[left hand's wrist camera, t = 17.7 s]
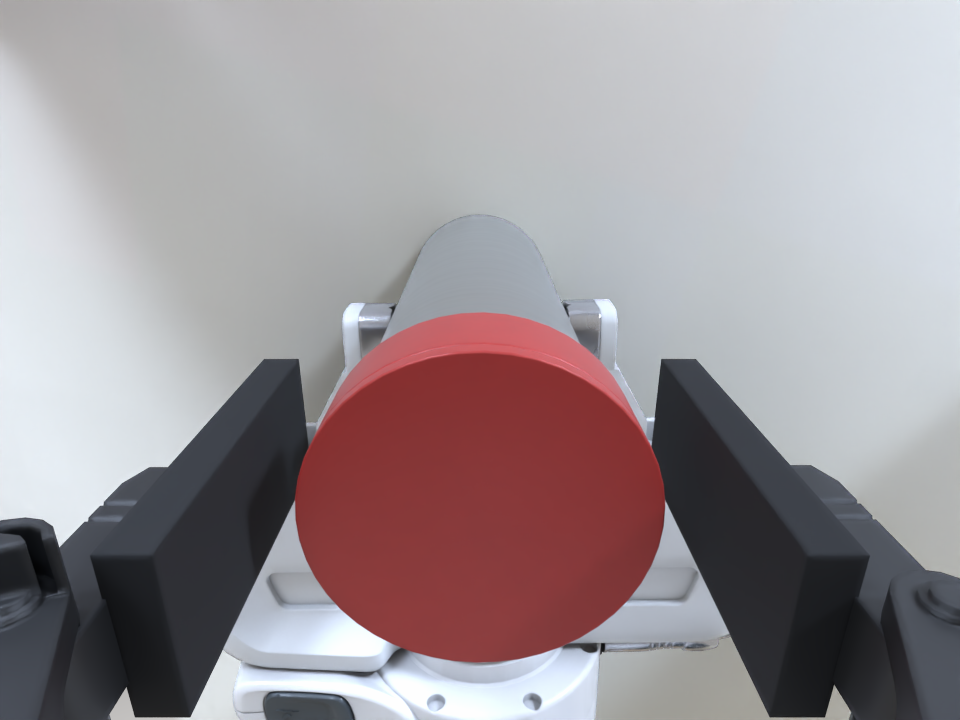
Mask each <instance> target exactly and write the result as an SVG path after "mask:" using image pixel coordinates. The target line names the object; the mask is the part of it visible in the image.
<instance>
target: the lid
mask: <svg viewBox="0 0 960 720" xmlns="http://www.w3.org/2000/svg"><path fill="white" fill-rule="evenodd" d="M664 517H665V495H664V484H663V480H662V476H661V472H660V468H659V464H658V462H657V459H656V457H655V454H654V452H653V450H652V447H651V445H650V443H649V441H648V439H647V437H646V435H645V433H644V431H643V429H642V427H641V426H640V424H639V422H638V420H637V418H636V416H635V414H634V412H633V410H632V408H631V406H630V404H629V403H628V401H627V399H626V397H625V395H624V393H623V391H622V390H621V388H620V387H619V385H618V383H617V382H616V380H615V378H614V377H613V376H612V374H611V373H610V372H609V371H608V370H607V368H606V367H605V366H604V365H603V364H602V362H601V361H600V360H599V359H597V358H596V357H595V356H594V355H593V354H592V353H591V352H590V351H589V350H588V349H586V348H585V347H584V346H582V345H581V344H579V343H578V342H576V341H575V340H574V339H572V338H571V337H569V336H567V335H565V334H563V333H562V332H560V331H558V330H556V329H554V328H552V327H550V326H547V325H544V324H541V323H539V322H536V321H533V320H530V319H526V318H522V317H517V316H512V315H508V314H498V313H486V312H480V313H460V314H454V315H448V316H442V317H438V318H434V319H431V320H428V321H424V322H421V323H418V324H416V325H413V326H411V327H409V328H407V329H404V330H402V331H400V332H398V333H396V334H395V335H393V336H391V337H390V338H388V339H387V340H385V341H383V342H382V343H380V344H379V345H378V346H376V347H375V348H374V349H373V350H372V351H370V352H369V353H368V354H367V355H366V356H364V357H363V358H362V359H361V361H360V362H359V363H358V364H357V365H356V366H355V367H354V368H353V369H352V371H351V372H350V373H349V374H348V376H347V377H346V379H345V380H344V382H343V383H342V385H341V386H340V388H339V389H338V391H337V393H336V395H335V397H334V399H333V401H332V403H331V405H330V407H329V409H328V411H327V413H326V414H325V416H324V418H323V420H322V422H321V424H320V426H319V428H318V430H317V432H316V434H315V436H314V438H313V440H312V442H311V444H310V446H309V448H308V450H307V452H306V454H305V456H304V459H303V462H302V466H301V469H300V472H299V476H298V480H297V487H296V495H295V520H296V525H297V531H298V536H299V541H300V544H301V547H302V550H303V553H304V556H305V559H306V561H307V563H308V565H309V567H310V569H311V571H312V573H313V575H314V577H315V578H316V580H317V581H318V583H319V584H320V585H321V587H322V588H323V590H324V591H325V593H326V594H327V595H328V596H329V597H330V598H331V600H332V601H333V602H334V603H335V604H336V605H337V606H338V607H339V608H340V609H341V610H342V611H343V612H344V613H345V614H346V615H348V616H349V617H350V618H351V619H352V620H354V621H355V622H356V623H357V624H359V625H360V626H362V627H363V628H365V629H366V630H368V631H369V632H371V633H372V634H374V635H376V636H378V637H379V638H381V639H383V640H385V641H387V642H389V643H391V644H393V645H396V646H398V647H401V648H403V649H406V650H409V651H411V652H414V653H418V654H422V655H425V656H429V657H433V658H438V659H444V660H450V661H458V662H473V663H483V662H502V661H509V660H517V659H522V658H526V657H531V656H535V655H539V654H542V653H545V652H548V651H551V650H554V649H557V648H560V647H562V646H564V645H566V644H568V643H571V642H573V641H575V640H577V639H579V638H581V637H583V636H584V635H586V634H587V633H589V632H591V631H592V630H594V629H596V628H597V627H599V626H600V625H601V624H602V623H604V622H605V621H606V620H608V619H609V618H610V617H611V616H613V615H614V614H615V613H616V612H617V611H618V610H619V609H620V608H621V607H622V606H623V605H624V604H625V603H626V602H627V601H628V600H629V599H630V597H631V596H632V595H633V594H634V592H635V591H636V590H637V588H638V587H639V586H640V584H641V583H642V581H643V580H644V578H645V576H646V574H647V573H648V571H649V569H650V567H651V566H652V563H653V561H654V558H655V556H656V553H657V551H658V548H659V545H660V540H661V536H662V532H663V527H664Z"/></svg>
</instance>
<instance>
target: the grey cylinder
mask: <svg viewBox="0 0 960 720" xmlns="http://www.w3.org/2000/svg"><path fill="white" fill-rule="evenodd" d="M480 312H486V313H498V314H508V315H512V316H517V317H522V318H526V319H530V320H533V321H536V322H539V323H541V324H544V325H547V326H550V327H552V328H554V329H556V330H558V331H560V332H562V333H563V334H565V335H567V336H569V337H571V338H572V339H574V340H575V341H576V342H578V343H579V341H578V338H577V336H576V334H575V331H574V329H573V327H572V325H571V322H570V320H569V318H568V316H567V313H566V311H565V309H564V307H563V304H562V302H561V300H560V298H559V295H558V293H557V291H556V289H555V286H554V284H553V282H552V280H551V277H550V275H549V273H548V270H547V268H546V266H545V264H544V261H543V259H542V257H541V255H540V253H539V251H538V249H537V247H536V245H535V244H534V242H533V241H532V240H531V238H530V237H529V236H528V235H527V234H526V233H525V232H524V231H523V230H521V229H520V228H519V227H517V226H516V225H514V224H513V223H511V222H509V221H507V220H504V219H501V218H498V217H494V216H489V215H471V216H466V217H461V218H458V219H456V220H453V221H451V222H449V223H447V224H445V225H444V226H442V227H441V228H439V229H438V230H437V231H436V232H435V233H434V234H433V235H432V236H431V237H430V238H429V239H428V240H427V242H426V243H425V245H424V246H423V248H422V250H421V252H420V254H419V256H418V259H417V261H416V263H415V265H414V268H413V270H412V272H411V275H410V277H409V279H408V281H407V284H406V286H405V288H404V290H403V293H402V295H401V297H400V300H399V302H398V304H397V306H396V309H395V311H394V313H393V316H392V318H391V320H390V322H389V325H388V327H387V329H386V331H385V334H384V336H383V338H382V341H381V343H382V342H383V341H385V340H387V339H388V338H390V337H391V336H393V335H395V334H396V333H398V332H400V331H402V330H404V329H407V328H409V327H411V326H413V325H416V324H418V323H421V322H424V321H428V320H431V319H434V318H438V317H442V316H448V315H454V314H460V313H480ZM579 344H580V343H579Z"/></svg>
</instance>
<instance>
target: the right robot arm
mask: <svg viewBox="0 0 960 720" xmlns="http://www.w3.org/2000/svg"><path fill="white" fill-rule="evenodd" d="M562 304H563V307H564V309H565V311H566V313H567V316H568V318H569V320H570V322H571V325H572V327H573V329H574V331H575V334H576V336H577V338H578V341H579V343H580V344H581V345H582V346H584V347H585V348H586V349H588V350H589V351H590V352H591V353H592V354H593V355H594V356H595V357H596V358H597V359H599V360H600V361H601V362H602V364H603V365H604V366H605V367H606V368H607V370H608V371H609V372H610V373H611V374H612V376H613V377H614V378H615V380H616V382H617V383H618V385H619V387H620V388H621V390H622V391H623V393H624V395H625V397H626V399H627V401H628V403H629V404H630V406H631V408H632V410H633V412H634V414H635V416H636V418H637V420H638V422H639V424H640V426H641V427H642V429H643V431H644V433H645V435H646V437H647V439H648V441H649V443H650V445H651V446H652V437H653V428H654V420H655V418H646V417H645V415H644V413H643V411H642V410H641V408H640V406H639V404H638V402H637V400H636V399H635V397H634V395H633V393H632V391H631V389H630V388H629V386H628V384H627V382H626V380H625V379H624V377H623V375H622V373H621V371H620V369H619V368H618V366H617V364H616V362H615V360H616V344H617V329H618V319H617V311H616V308H615V307H614V305H613V304H612V302H611V301H610V300H609V299H594V300H593V299H589V300H563V303H562ZM396 306H397V304H396V303H351V304H349V305H348V307H347V308H346V310H345V311H344V313H343V319H342V335H343V345H344V355H345V365H346V367H345V368H344V370H343V372H342V374H341V376H340V378H339V380H338V382H337V384H336V386H335V388H334V390H333V392H332V394H331V396H330V398H329V400H328V402H327V404H326V406H325V407H324V409H323V411H322V413H321V415H320V417H319V419H318V421H317V422H312V423H306V428H307V437H308V446H310V444H311V442H312V440H313V438H314V436H315V434H316V432H317V430H318V428H319V426H320V424H321V422H322V420H323V418H324V416H325V414H326V413H327V411H328V409H329V407H330V405H331V403H332V401H333V399H334V397H335V395H336V393H337V391H338V389H339V388H340V386H341V385H342V383H343V382H344V380H345V379H346V377H347V376H348V374H349V373H350V372H351V371H352V369H353V368H354V367H355V366H356V365H357V364H358V363H359V362H360V361H361V359H362V358H363V357H364V356H366V355H367V354H368V353H369V352H370V351H372V350H373V349H374V348H375V347H376V346H378V345H379V344H380V343H381V341H382V338H383V336H384V334H385V331H386V329H387V327H388V325H389V322H390V320H391V318H392V316H393V313H394V311H395V309H396ZM728 637H731V636H730V634H729V632H728V630H727V627H726V625H725V623H724V621H723V619H722V617H721V615H720V613H719V611H718V609H717V607H716V605H715V603H714V600H713V598H712V596H711V594H710V592H709V590H708V588H707V586H706V584H705V582H704V580H703V578H702V576H701V574H700V571H699V569H698V567H697V565H696V563H695V561H694V559H693V557H692V555H691V553H690V551H689V549H688V547H687V545H686V542H685V540H684V538H683V536H682V534H681V532H680V530H679V528H678V526H677V524H676V522H675V520H674V518H673V515H672V513H671V511H670V509H669V507H668V505H667V503H666V501H665V517H664V527H663V532H662V536H661V540H660V545H659V548H658V551H657V553H656V556H655V558H654V561H653V563H652V566H651V567H650V569H649V571H648V573H647V574H646V576H645V578H644V580H643V581H642V583H641V584H640V586H639V587H638V588H637V590H636V591H635V592H634V594H633V595H632V596H631V597H630V599H629V600H628V601H627V602H626V603H625V604H624V605H623V606H622V607H621V608H620V609H619V610H618V611H617V612H616V613H615V614H614V615H613V616H611V617H610V618H609V619H608V620H606V621H605V622H604V623H602V624H601V625H600V626H599V627H597V628H596V629H594V630H592V631H591V632H589V633H587V634H586V635H584V636H583V637H581V638H579V639H577V640H575V641H573V642H571V643H568V644H566V645H564V646H562V647H560V648H557V649H554V650H551V651H548V652H545V653H542V654H539V655H535V656H531V657H526V658H522V659H517V660H509V661H502V662H483V663H473V662H458V661H450V660H444V659H438V658H433V657H429V656H425V655H422V654H418V653H414V652H411V651H409V650H406V649H403V648H401V647H398V646H396V645H393V644H391V643H389V642H387V641H385V640H383V639H381V638H379V637H378V636H376V635H374V634H372V633H371V632H369V631H368V630H366V629H365V628H363V627H362V626H360V625H359V624H357V623H356V622H355V621H354V620H352V619H351V618H350V617H349V616H348V615H346V614H345V613H344V612H343V611H342V610H341V609H340V608H339V607H338V606H337V605H336V604H335V603H334V602H333V601H332V600H331V598H330V597H329V596H328V595H327V594H326V593H325V591H324V590H323V588H322V587H321V585H320V584H319V583H318V581H317V580H316V578H315V577H314V575H313V573H312V571H311V569H310V567H309V565H308V563H307V561H306V559H305V556H304V553H303V550H302V547H301V544H300V541H299V536H298V531H297V525H296V520H295V501H294V503H293V505H292V507H291V509H290V511H289V513H288V515H287V518H286V520H285V522H284V524H283V526H282V528H281V530H280V532H279V534H278V536H277V538H276V540H275V542H274V545H273V547H272V549H271V551H270V553H269V555H268V557H267V559H266V561H265V563H264V565H263V567H262V569H261V571H260V574H259V576H258V578H257V580H256V582H255V584H254V586H253V588H252V590H251V592H250V594H249V596H248V598H247V600H246V603H245V605H244V607H243V609H242V611H241V613H240V615H239V617H238V619H237V621H236V623H235V625H234V627H233V630H232V632H231V634H230V636H229V638H228V640H227V642H226V644H225V646H224V648H223V650H224V651H225V652H227V653H228V654H229V655H231V656H233V657H234V658H236V659H238V660H241V665H240V668H239V672H238V675H237V679H236V683H235V686H234V690H233V703H234V708H235V712H236V714H237V716H238V718H239V719H240V720H595V717H596V703H597V690H598V678H599V661H600V654H602V652H642V651H649V650H650V651H651V650H656V649H663V648H664V649H669V648H671V649H675V648H681V649H682V650H685V651H703V650H710V649H713V648H716V647H717V646H718V644H719V639H724V638H728Z"/></svg>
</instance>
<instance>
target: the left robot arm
mask: <svg viewBox="0 0 960 720" xmlns="http://www.w3.org/2000/svg"><path fill="white" fill-rule="evenodd" d="M651 447H652V450H653V452H654V454H655V457H656V459H657V462H658V464H659V468H660V472H661V476H662V480H663V484H664V495H665V501H666V503H667V505H668V507H669V509H670V511H671V513H672V515H673V518H674V520H675V522H676V524H677V526H678V528H679V530H680V532H681V534H682V536H683V538H684V540H685V542H686V545H687V547H688V549H689V551H690V553H691V555H692V557H693V559H694V561H695V563H696V565H697V567H698V569H699V571H700V574H701V576H702V578H703V580H704V582H705V584H706V586H707V588H708V590H709V592H710V594H711V596H712V598H713V600H714V603H715V605H716V607H717V609H718V611H719V613H720V615H721V617H722V619H723V621H724V623H725V625H726V627H727V630H728V632H729V634H730V636H731V638H732V640H733V642H734V644H735V646H736V648H737V650H738V652H739V654H740V656H741V659H742V661H743V663H744V665H745V667H746V669H747V671H748V673H749V675H750V677H751V679H752V681H753V683H754V685H755V688H756V690H757V692H758V694H759V696H760V698H761V700H762V702H763V704H764V706H765V708H766V710H767V712H768V714H769V717H825V715H826V712H827V708H828V705H829V701H830V697H831V694H832V690H833V687H834V685H835V687H836V688H837V690H838V691H839V693H840V695H841V696H842V698H843V699H844V701H845V703H846V704H847V706H848V707H849V709H850V711H851V715H850V719H849V720H960V578H957V577H954V576H951V575H948V574H945V573H941V572H935V571H928V570H925V569H924V568H923V567H922V566H921V565H920V564H919V563H918V562H917V561H916V560H915V559H914V558H913V557H912V556H911V555H910V554H909V553H908V552H907V551H906V550H905V549H904V548H903V547H902V546H901V545H900V544H899V542H898V541H897V540H896V539H895V538H894V537H893V536H892V535H891V534H890V533H889V532H888V531H887V530H886V529H885V528H884V527H883V526H882V525H881V524H880V523H879V522H878V521H877V520H873V519H872V515H871V514H870V513H869V512H868V511H867V510H866V509H865V508H864V507H863V506H862V505H861V504H857V500H856V499H855V498H854V497H853V496H852V495H851V494H850V493H849V492H848V491H847V490H846V489H845V488H844V487H843V485H842V484H841V483H840V482H839V481H837V480H835V479H834V478H832V477H830V476H828V475H827V474H825V473H823V472H822V471H820V470H818V469H816V468H815V467H813V466H811V465H789V463H788V462H787V461H786V460H785V459H784V458H783V457H782V456H781V454H780V453H779V452H778V451H777V450H776V449H775V448H774V447H773V445H772V444H771V443H770V442H769V441H768V440H767V439H766V438H765V436H764V435H763V434H762V433H761V432H760V431H759V430H758V429H757V427H756V426H755V425H754V424H753V423H752V422H751V421H750V420H749V418H748V417H747V416H746V415H745V414H744V413H743V412H742V411H741V409H740V408H739V407H738V406H737V405H736V404H735V403H734V402H733V400H732V399H731V398H730V397H729V396H728V395H727V394H726V393H725V391H724V390H723V389H722V388H721V387H720V386H719V385H718V384H717V382H716V381H715V380H714V379H713V378H712V377H711V376H710V375H709V373H708V372H707V371H706V370H705V369H704V368H703V367H702V366H701V364H700V363H699V362H698V361H697V360H696V359H661V367H660V376H659V384H658V393H657V402H656V411H655V420H654V428H653V437H652V446H651ZM308 448H309V446H308V437H307V428H306V420H305V411H304V402H303V393H302V384H301V376H300V367H299V359H264V360H263V361H262V362H261V363H260V364H259V366H258V367H257V368H256V369H255V370H254V371H253V372H252V373H251V375H250V376H249V377H248V378H247V379H246V380H245V381H244V382H243V384H242V385H241V386H240V387H239V388H238V389H237V390H236V391H235V393H234V394H233V395H232V396H231V397H230V398H229V399H228V400H227V402H226V403H225V404H224V405H223V406H222V407H221V408H220V409H219V411H218V412H217V413H216V414H215V415H214V416H213V417H212V418H211V420H210V421H209V422H208V423H207V424H206V425H205V426H204V427H203V429H202V430H201V431H200V432H199V433H198V434H197V435H196V436H195V438H194V439H193V440H192V441H191V442H190V443H189V444H188V445H187V447H186V448H185V449H184V450H183V451H182V452H181V453H180V454H179V456H178V457H177V458H176V459H175V460H174V461H173V462H172V463H171V465H170V466H169V467H149V468H148V469H146V470H144V471H142V472H141V473H139V474H137V475H136V476H134V477H132V478H130V479H129V480H127V481H125V482H124V483H122V484H121V485H120V486H119V487H118V488H117V489H116V490H115V491H114V492H113V493H112V494H111V495H110V496H109V497H108V498H107V499H106V500H105V501H104V506H100V507H99V508H98V509H97V510H96V511H95V512H94V513H93V514H92V515H91V516H90V517H89V520H88V522H84V523H83V524H82V525H81V526H80V527H79V528H78V529H77V530H76V531H75V532H74V533H73V534H72V535H71V536H70V537H69V538H68V539H67V540H66V541H65V542H64V544H63V545H62V546H61V547H60V548H59V545H58V542H57V539H56V535H55V532H54V529H53V526H51V525H50V524H48V523H47V522H45V521H44V520H40V519H32V518H17V519H9V520H1V521H0V720H111V719H110V715H109V714H110V712H111V711H112V709H113V708H114V706H115V704H116V703H117V701H118V699H119V698H120V696H121V695H122V693H123V691H124V690H125V688H126V687H127V690H128V694H129V697H130V701H131V705H132V708H133V711H134V715H135V717H191V714H192V712H193V710H194V708H195V706H196V704H197V702H198V700H199V698H200V696H201V694H202V692H203V690H204V688H205V685H206V683H207V681H208V679H209V677H210V675H211V673H212V671H213V669H214V667H215V665H216V663H217V661H218V659H219V656H220V654H221V652H222V650H223V648H224V646H225V644H226V642H227V640H228V638H229V636H230V634H231V632H232V630H233V627H234V625H235V623H236V621H237V619H238V617H239V615H240V613H241V611H242V609H243V607H244V605H245V603H246V600H247V598H248V596H249V594H250V592H251V590H252V588H253V586H254V584H255V582H256V580H257V578H258V576H259V574H260V571H261V569H262V567H263V565H264V563H265V561H266V559H267V557H268V555H269V553H270V551H271V549H272V547H273V545H274V542H275V540H276V538H277V536H278V534H279V532H280V530H281V528H282V526H283V524H284V522H285V520H286V518H287V515H288V513H289V511H290V509H291V507H292V505H293V503H294V501H295V495H296V487H297V480H298V476H299V472H300V469H301V466H302V462H303V459H304V456H305V454H306V452H307V450H308Z"/></svg>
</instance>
